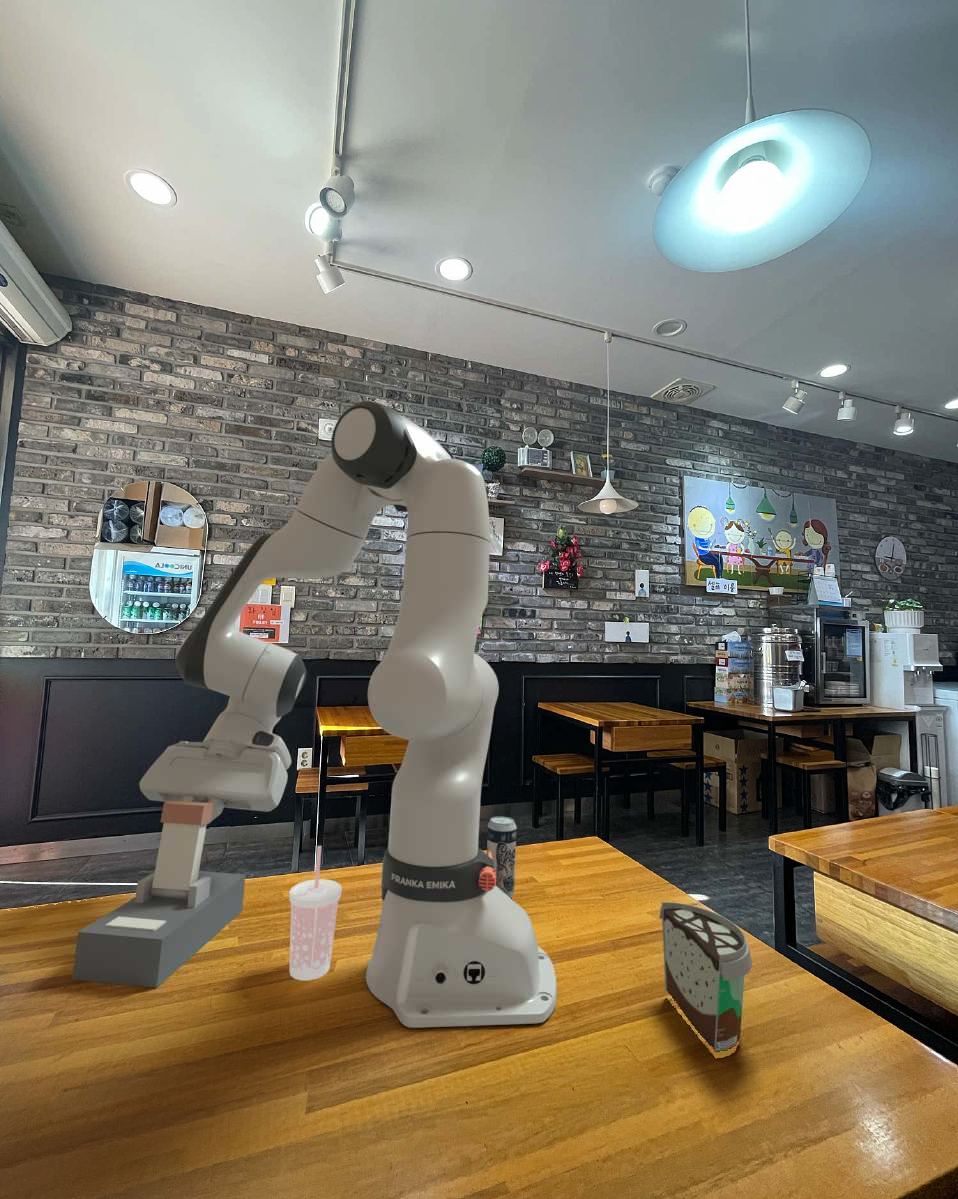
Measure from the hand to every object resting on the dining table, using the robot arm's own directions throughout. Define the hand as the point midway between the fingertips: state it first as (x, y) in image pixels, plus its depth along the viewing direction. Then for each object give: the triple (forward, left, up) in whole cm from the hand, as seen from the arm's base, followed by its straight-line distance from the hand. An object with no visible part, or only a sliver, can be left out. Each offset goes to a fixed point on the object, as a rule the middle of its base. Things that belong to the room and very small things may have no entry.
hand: (187, 832), depth 70 cm
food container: (-66, +8, -13) cm, 68 cm away
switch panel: (0, +2, -13) cm, 13 cm away
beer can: (-42, -18, -13) cm, 48 cm away
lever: (0, +2, -7) cm, 7 cm away
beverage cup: (-20, +5, -13) cm, 25 cm away
